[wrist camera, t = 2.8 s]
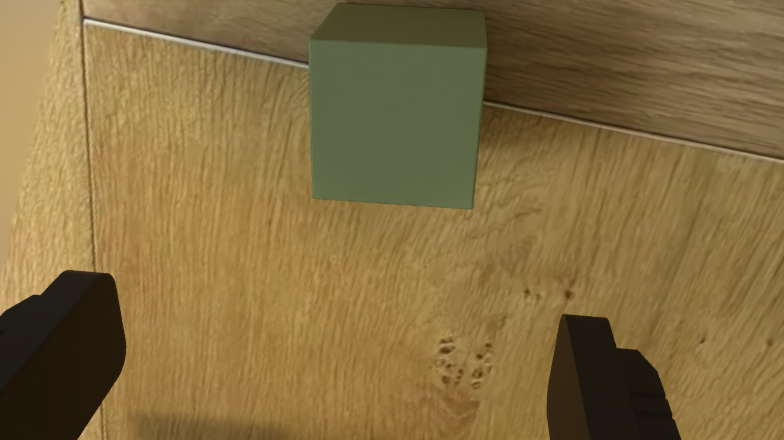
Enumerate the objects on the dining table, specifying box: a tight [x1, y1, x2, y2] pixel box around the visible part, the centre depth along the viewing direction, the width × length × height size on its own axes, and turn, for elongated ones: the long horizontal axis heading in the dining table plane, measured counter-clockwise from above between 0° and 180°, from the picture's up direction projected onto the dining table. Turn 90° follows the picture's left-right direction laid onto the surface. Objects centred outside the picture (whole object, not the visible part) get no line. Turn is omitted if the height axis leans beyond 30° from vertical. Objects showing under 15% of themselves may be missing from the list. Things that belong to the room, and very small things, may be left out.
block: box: [308, 3, 488, 209], centre depth 21 cm, size 5×5×5 cm
